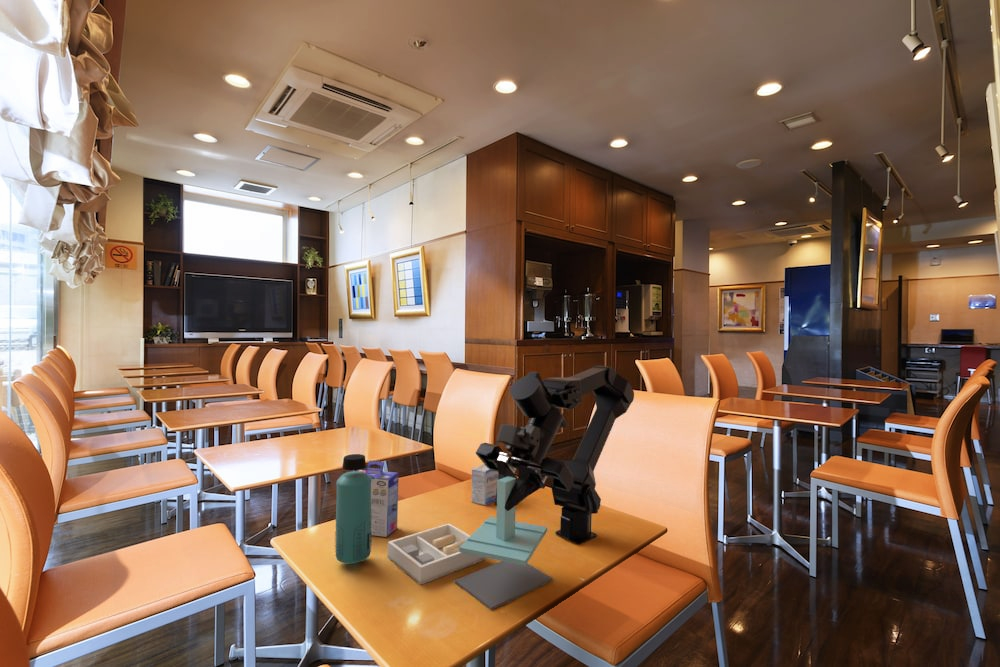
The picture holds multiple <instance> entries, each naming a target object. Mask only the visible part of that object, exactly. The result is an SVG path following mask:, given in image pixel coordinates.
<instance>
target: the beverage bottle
mask: <svg viewBox="0 0 1000 667" xmlns="http://www.w3.org/2000/svg"><path fill="white" fill-rule="evenodd" d="M366 462H367V461H366V456H365V455H364V454H361V453H360V454H359V453H352V454H347V455H344V456H343V461H342V470H345V471H347V472H344V473H343V474H342V475H340V477H338V478H337V480H336V482H335V484H336V505H335V506H336V508H335V513H334V514H335V532H334V533H335V547H334V549H335V557H336V560H337V561H339V563H342V564H343V563H344V564H357V563H360V562H363V561H365V560H367V559H368V558H369V557H370V555H371V553H372V546H373V541H372V540H373V539H372V538H373V535H372V534H371V532H372V531H371V527H372V526H371V525H372V524H371V522H372V521H371V520H372V519H371V515H372V514H371V482H372V479H371V477H370V476H369V475H368V474H367V473H365V472H362V471H358V470H364V469H365V468H367V463H366Z"/></svg>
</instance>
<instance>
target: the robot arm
mask: <svg viewBox="0 0 1000 667" xmlns="http://www.w3.org/2000/svg"><path fill="white" fill-rule="evenodd" d="M591 392H592V393H593V394H594V402H595V406H596V409H595V411H594V413H593V416H592V417H591V420H590V422H589V424H588V427H587V428H586V430H585V432H584V435H583V437H582V439H581V442H580V443H579V445H578V448H577V449H576V452H575V454H574V457H573V458H572V459H571V460H569V461H568V460H561V459H558V458H554V457H548V456H546V455H547V453H551V454H552V453H553V450H554V446H553V445H552V442H553V441H554V438H555V437H556V435H557V432H558V430H559V429H566V428H567V422H566V419H565V414H564V413H561V410H560V409H566V410H574V409H575V408H576V407H577V406H578V405H579V404H581V403H582V402H583V400H582V397H583V396H585V395H587V394H589V393H591ZM509 394H510V397H511V398H512V400H513V401H514V403H515V404H516V405H517V407H518V408H519V410H520V411H521V413H522V414H523V416H525V417H526V418H529V420H528V421H527V423H526V425H525V426H516V425H511V424H506V423H500V426H499V430H498V434H497V437H496V440H495V441H496V442H497V443H502V444H504V445H506V446H505V449H506V450H507V452H510V454H509V453H507V452H506V453H505V452H504V450H502V448H501V447H500V445H496V444H493V443H488V442H483V443H480V444H479V446H478V448H477V449H476V451H475V454H476V456H477V457H478V458H479V459H480V460H481V463H483V465H484V464H485V465H486V467H487V468H489V469H490V470H494V471H497V472H498V480H499V479H502V478H505V477H507V476H509V477H513V478H516V483H515V485H514V487H513V489H512V491H511V493H510V495H509V497H508V499H507V502H506V504H505V509H506V510H507V511H509V510H511V509H512V508H513V507H514V506H517V505H518V504H519V503H521V502H522V501H524V500H525V499H526V498H528V497H529V496H530V495H533V494H534V493H535V492H537V491H538V490H540V489H542V490H543V489H545V488H546V484H545V482H546V481H547V479H548V478H551V479H552V482H551V493H552V497H553V503H554V505H555V506H560V507H561V516H560V523H559V524H560V529H557V530H556V531H555V535H557V536H559V537H560V538H562V539H565V540H567V541H569V542H571V543H573V544H575V545H581V544H582V543H586V542H588V541H590V540H592V539H594V538H597V536H598V534H597V533H596V532H593V531H592V517H593V516H592V515H593V514H598V513H599V510H600V507H601V500H602V499H601V496H600V495H599V493H598V492H597V490H596V485H597V483H596V482H597V481H596V478H595V473H594V471H595V468H596V466H597V463H598V462H599V459H600V456H601V454H602V452H603V450H604V447H605V445H606V443H607V440H608V438H609V435H610V433H611V431H612V428H613V427H614V424H615V421H616V420H617V419H618V418H619V417H621V416H623V415H624V414H625V413H627V411H628V409H629V408H630V407H631V404H633V401H634V398H635V391H634V389H633V387H632V386H631V384H630V382H629V380H627V379H625V377H623V376H621V375H620V374H619V373H617V371H616V370H615V368H614V367H611V366H605V365H594V366H591V367H590V368H589V369H586V370H584V371H581V372H579V373H578V372H577V374H573V375H570V376H569V377H567V376H566V377H556V376H555V377H547V378H545V379H543V380H542V377H541V375H540V373H539V372H538V371H537V372H536V371H529V372H528V373H527V375H525V376H522V377H521V378H519V379H517V380H516V381H515V382H513V383H512V384H511V385H510V388H509ZM516 470H518V474H517V475H518V476H517V475H516V474H515V473H516ZM494 506H495V508H497V491H496V498H495V501H494Z"/></svg>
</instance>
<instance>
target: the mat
mask: <svg viewBox="0 0 1000 667" xmlns="http://www.w3.org/2000/svg"><path fill="white" fill-rule="evenodd" d="M552 581H554V580H553V576H550V575H549V574H547V573H545V572H543V571H541V570H540V569H538V568H536V567H534V566H533V565H531V564H529V562H528V563H527V564H526V566H523V565H518V564H514V563H509V562H504V561H499V562H496V563H494V564H491V565H489V566H485V567H484V568H481V569H479V570H477V571H475V572H472V573H470V574H466V575H464V576H462V577H460V578H457V579H455V580H454V584H456V585H457V586H459V587H460V588H461V589H463V590H464V591H465V592H467V594H469V595H471V596H472V597H474V598H475V599H476V600H477V601H478V602H480V603H481V604H482V605H484V606H485V607H487V608H488V609H489V610H491V611H492V610H495V609H497V608H499V607H500V606H502V605H505V604H508V603H509V602H512V601H513V600H515V599H517V598H519V597H521V596H523V595H525V594H528V593H530V592H531V591H532V592H533V591H534V590H536V589H537V588H539V587H542V586H543V585H546V584H547V583H550V582H552Z"/></svg>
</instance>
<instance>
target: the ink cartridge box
mask: <svg viewBox="0 0 1000 667" xmlns="http://www.w3.org/2000/svg"><path fill="white" fill-rule="evenodd" d="M384 464H385V461H379V460H378V461H377V460H376V461H375V460H369V461H368V463H367V465H366V469H360V470H357V471H362V472H365V473H367V474H368V475H369V476H370V477H371V479H372V482H371V514H372V515H371V519H372V520H371V521H372V522H371V524H372V525H371V526H372V527H371V531H372V532H371V534H372V536H376V537H383V538H384V537H385V538H386V537H388V536H389V535H390V534H392V533H393V532H394V531H395V530H397V529H398V513H399V512H398V511H399V510H398V509H399V505H398V504H399V472H393V471H383V469H384V466H385V465H384ZM373 465H377V466H379V468H377V467H371V466H373Z"/></svg>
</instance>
